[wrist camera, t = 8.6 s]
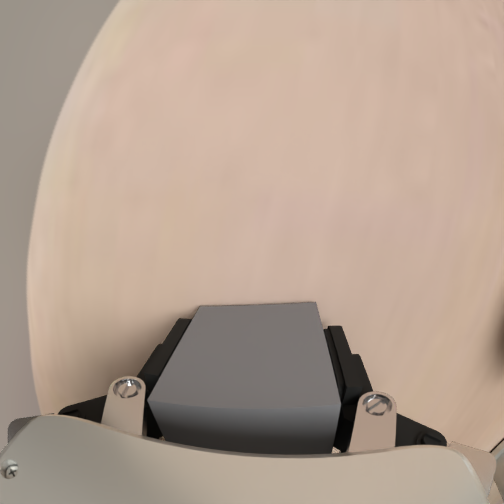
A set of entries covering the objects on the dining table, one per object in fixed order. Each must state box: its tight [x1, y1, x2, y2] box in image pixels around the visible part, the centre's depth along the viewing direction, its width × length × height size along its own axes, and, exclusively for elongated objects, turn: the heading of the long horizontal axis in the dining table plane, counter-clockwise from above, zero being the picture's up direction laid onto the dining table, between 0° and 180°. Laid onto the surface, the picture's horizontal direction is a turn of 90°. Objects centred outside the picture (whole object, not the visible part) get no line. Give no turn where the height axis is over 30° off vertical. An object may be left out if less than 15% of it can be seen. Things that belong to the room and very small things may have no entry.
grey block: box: [147, 302, 341, 455], centre depth 11 cm, size 5×13×6 cm, turn 5°
